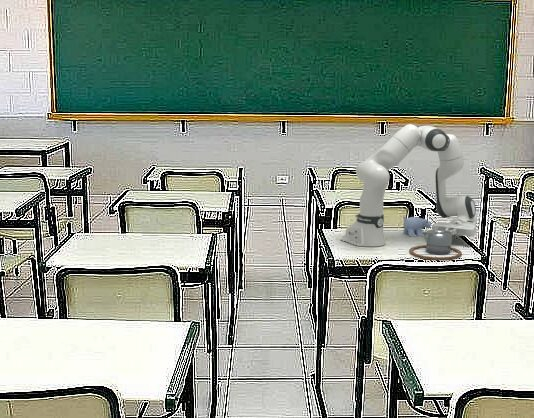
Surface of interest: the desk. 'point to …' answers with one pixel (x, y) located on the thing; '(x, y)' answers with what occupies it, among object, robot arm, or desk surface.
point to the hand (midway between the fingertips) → (448, 232)
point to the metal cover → (438, 242)
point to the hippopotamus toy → (415, 226)
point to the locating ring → (434, 257)
